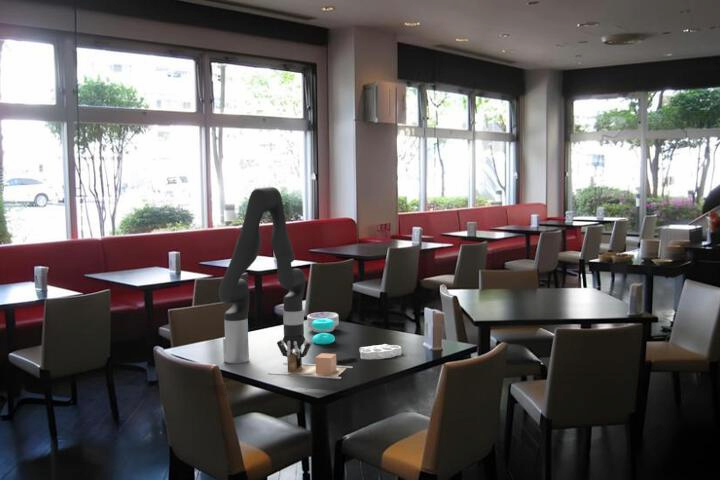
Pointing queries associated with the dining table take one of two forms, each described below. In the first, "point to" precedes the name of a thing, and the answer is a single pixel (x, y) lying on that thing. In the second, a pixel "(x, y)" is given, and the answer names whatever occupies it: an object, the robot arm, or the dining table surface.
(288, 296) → the robot arm
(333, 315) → the clear glass round bowl
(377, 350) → the white brass knuckles
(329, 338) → the donuts
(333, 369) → the block
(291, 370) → the wooden stand
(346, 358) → the carrying case or bag
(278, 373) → the rails
